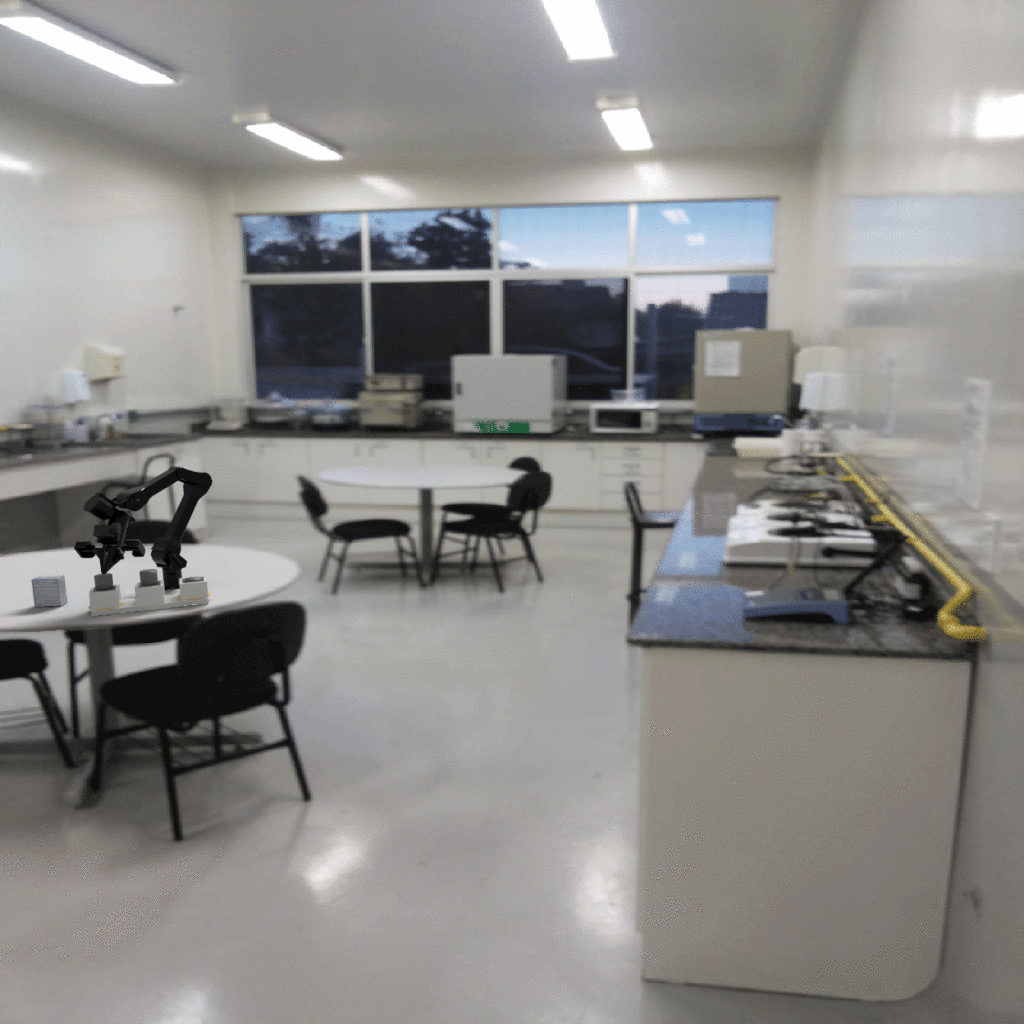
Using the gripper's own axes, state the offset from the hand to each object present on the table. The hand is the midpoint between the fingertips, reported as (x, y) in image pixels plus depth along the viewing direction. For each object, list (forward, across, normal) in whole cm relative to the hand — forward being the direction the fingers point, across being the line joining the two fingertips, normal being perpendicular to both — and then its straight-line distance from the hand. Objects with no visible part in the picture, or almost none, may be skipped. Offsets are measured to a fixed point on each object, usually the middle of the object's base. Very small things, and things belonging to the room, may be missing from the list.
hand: (103, 573), depth 253 cm
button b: (0, +11, +6) cm, 13 cm away
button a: (0, +23, +11) cm, 25 cm away
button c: (+3, 0, +3) cm, 5 cm away
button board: (+5, +11, +11) cm, 16 cm away
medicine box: (+2, -20, +13) cm, 24 cm away
